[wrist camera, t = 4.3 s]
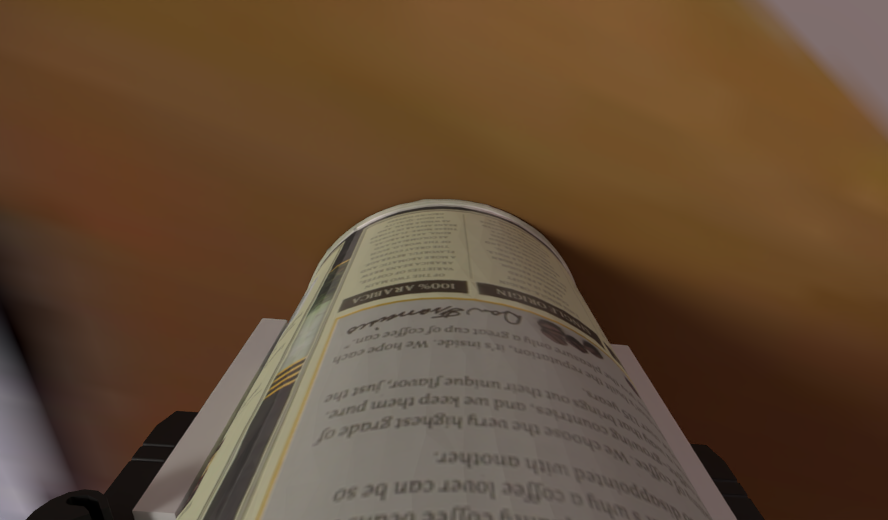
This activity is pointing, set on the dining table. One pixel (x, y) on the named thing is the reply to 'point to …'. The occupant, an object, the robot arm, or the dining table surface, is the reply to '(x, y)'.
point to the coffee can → (443, 390)
